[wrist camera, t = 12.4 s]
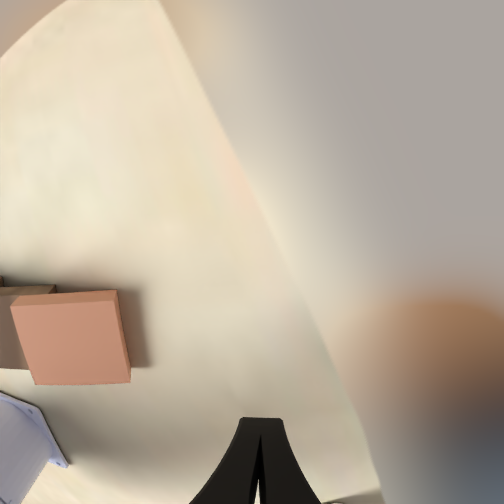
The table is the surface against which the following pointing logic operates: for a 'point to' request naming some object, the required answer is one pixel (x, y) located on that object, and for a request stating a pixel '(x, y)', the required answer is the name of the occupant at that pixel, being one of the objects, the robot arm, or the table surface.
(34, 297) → the terracotta domino
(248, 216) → the table surface
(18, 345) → the walnut domino
